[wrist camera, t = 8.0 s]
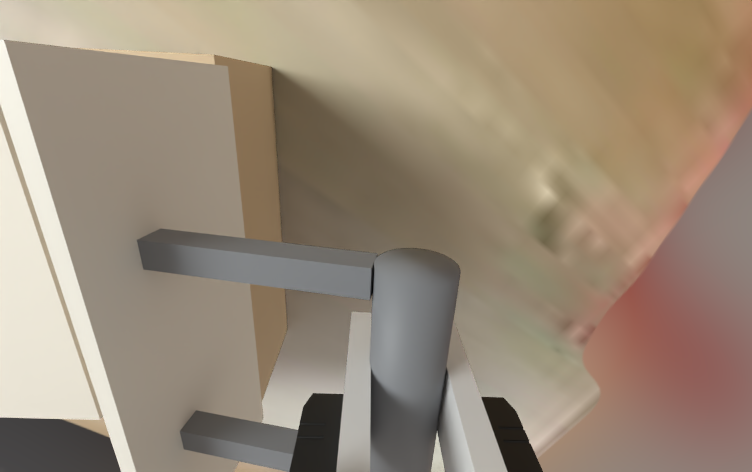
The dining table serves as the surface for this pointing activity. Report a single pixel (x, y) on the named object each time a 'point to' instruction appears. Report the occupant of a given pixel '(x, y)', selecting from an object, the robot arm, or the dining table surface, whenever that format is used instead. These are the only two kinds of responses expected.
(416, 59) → the dining table surface
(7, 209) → the cabinet
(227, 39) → the dining table surface
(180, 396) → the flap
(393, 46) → the dining table surface
